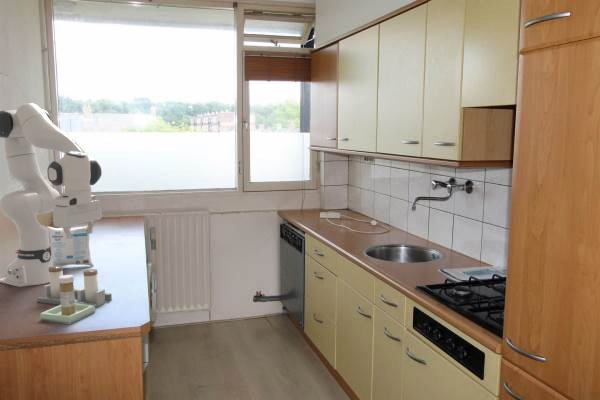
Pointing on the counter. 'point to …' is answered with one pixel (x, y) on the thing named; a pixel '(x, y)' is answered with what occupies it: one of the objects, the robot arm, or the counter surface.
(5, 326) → the counter surface
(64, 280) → the sprinkles bottle
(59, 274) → the left jar
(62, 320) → the tray
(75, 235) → the pouch
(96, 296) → the spice rack
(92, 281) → the right jar
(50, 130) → the robot arm
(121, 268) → the counter surface
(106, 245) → the counter surface
